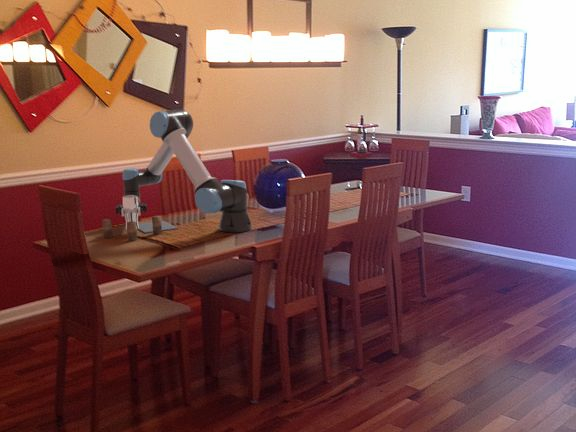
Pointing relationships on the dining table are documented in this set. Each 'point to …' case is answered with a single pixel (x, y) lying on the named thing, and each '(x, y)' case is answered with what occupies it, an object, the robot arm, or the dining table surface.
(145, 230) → the slate mat
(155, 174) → the robot arm
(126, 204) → the beer glass
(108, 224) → the walnut spacer posts
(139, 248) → the dining table surface
